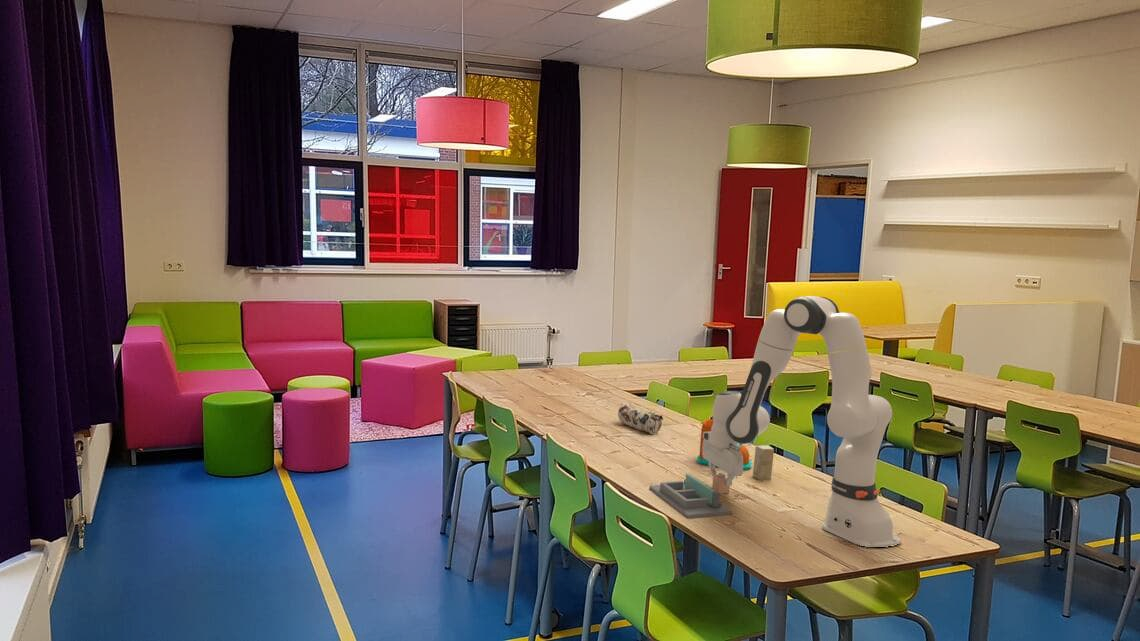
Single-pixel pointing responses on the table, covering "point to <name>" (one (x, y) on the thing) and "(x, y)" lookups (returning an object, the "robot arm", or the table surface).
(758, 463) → the box
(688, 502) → the housing
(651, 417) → the pencil case
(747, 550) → the table surface
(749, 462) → the toy shoe
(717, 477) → the peach button block
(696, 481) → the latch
